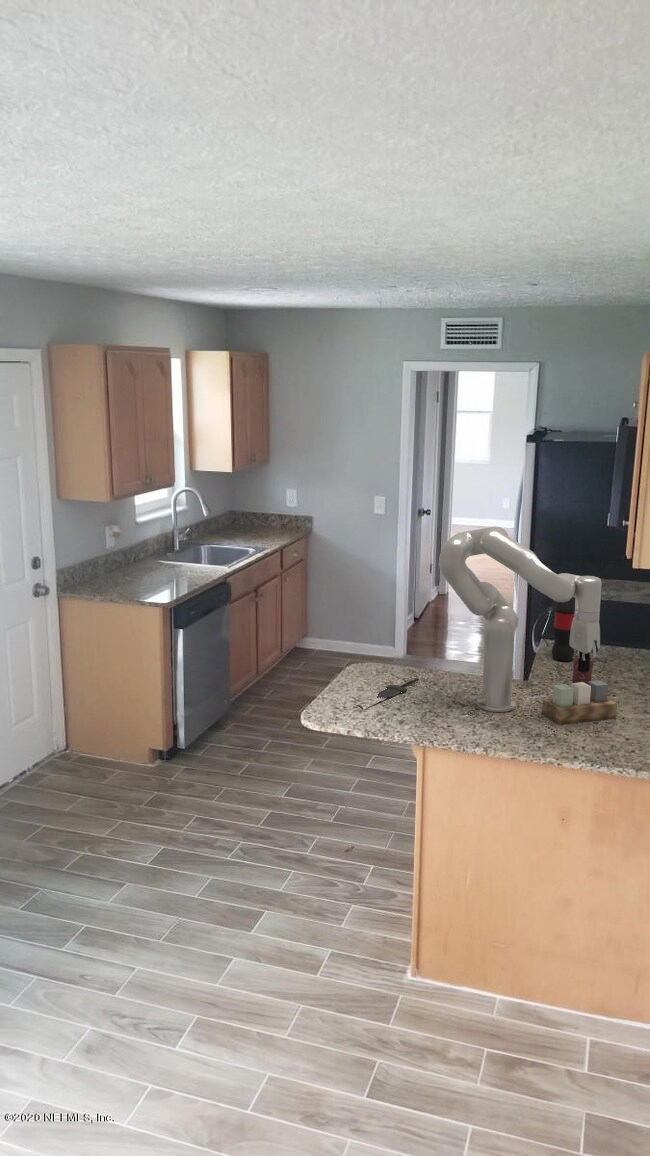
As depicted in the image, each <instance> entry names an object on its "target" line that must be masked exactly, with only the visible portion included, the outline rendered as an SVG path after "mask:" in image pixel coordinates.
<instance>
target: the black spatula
mask: <svg viewBox="0 0 650 1156" xmlns="http://www.w3.org/2000/svg"><path fill="white" fill-rule="evenodd" d="M417 681H419V677H416V678H413V679H411V680H409V681H407V682H405V683H403V684H401V685H399V684H397V685H396V684H389V685H386V686H385V688H384V689H385V690H384V689H382V690H383V691H382V690H380V691H381V692H380V691H379V694H378V696H377V698H378V697H380V698H381V697H382V698H383V697H384V698H386V697H390V696H392V697H394V696H396V695H399V694H405V693H406V691H407V692H408V688H406V687H407V686H409V685H411V684H413V683H416V682H417ZM386 688H387V689H386ZM400 692H402V693H400ZM404 692H405V693H404ZM390 698H391V697H390Z"/></svg>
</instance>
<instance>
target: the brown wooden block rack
mask: <svg viewBox="0 0 650 1156" xmlns="http://www.w3.org/2000/svg"><path fill="white" fill-rule="evenodd" d="M617 707H618V702H616V701H614V700H612V699H610V698H608V697H607V701H606V702H598V703H594V702H593V701H591V700H590V704H581V705H577V704H575V703H572V706H565V707H559V706H557V705H556V704H554V703H553V697H552V698H551V697H550V698H542V705H541V715H543V716H544V717H546V718H547V719H549V720H550V721H552V722H554V723H555V724H557V725H559V726H564V725H571V724H580V723H587V722H595V721H601V720H611V719H616V718H617V711H618V708H617Z"/></svg>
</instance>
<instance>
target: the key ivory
mask: <svg viewBox="0 0 650 1156" xmlns="http://www.w3.org/2000/svg"><path fill="white" fill-rule="evenodd" d="M570 687H572V688H574V690H573V703H575V704H577V705H581V704H590V694H591V686H589V685H587V684H585V683H584V682H579V683H572V682H571V685H570Z"/></svg>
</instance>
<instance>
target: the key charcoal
mask: <svg viewBox="0 0 650 1156" xmlns="http://www.w3.org/2000/svg"><path fill="white" fill-rule="evenodd" d="M588 685H589V686H591V694H590V700H591V701H593V702H594V703H598V702H606V701H607V698H608V694H609V693H608V692H609V684H608V683H606V682H605V681H603V680H598V679H597V680H591V681H589V682H588Z"/></svg>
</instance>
